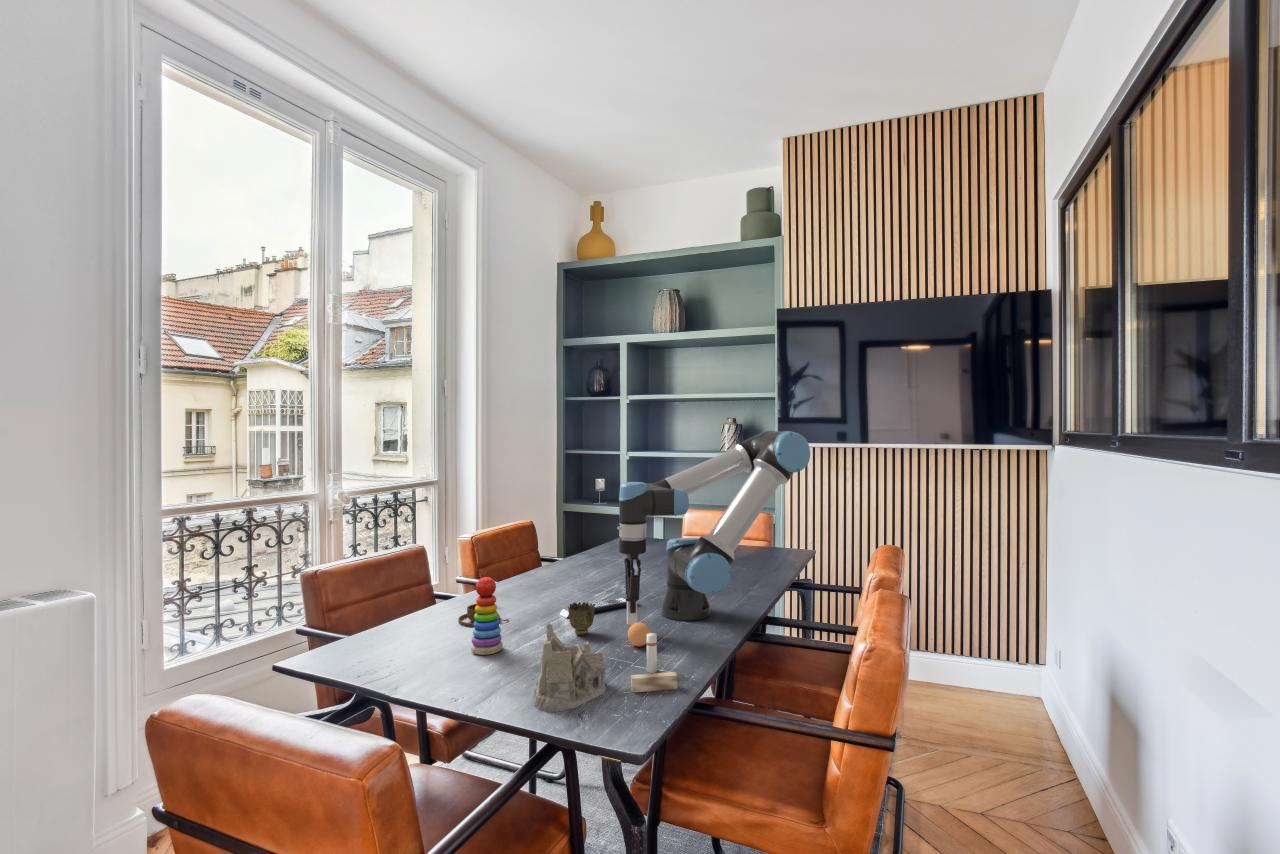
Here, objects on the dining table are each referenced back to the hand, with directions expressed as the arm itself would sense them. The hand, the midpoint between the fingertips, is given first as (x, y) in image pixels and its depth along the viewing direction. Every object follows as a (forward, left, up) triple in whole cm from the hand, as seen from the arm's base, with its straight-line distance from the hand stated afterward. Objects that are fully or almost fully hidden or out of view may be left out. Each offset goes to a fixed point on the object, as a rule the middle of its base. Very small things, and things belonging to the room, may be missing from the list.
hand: (631, 623), depth 174 cm
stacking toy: (+39, +5, -3) cm, 39 cm away
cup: (+14, -3, -3) cm, 14 cm away
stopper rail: (+1, +36, -3) cm, 37 cm away
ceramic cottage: (+20, +36, -3) cm, 41 cm away
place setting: (+40, -24, -4) cm, 47 cm away
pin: (0, +26, -3) cm, 27 cm away
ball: (0, +9, 0) cm, 10 cm away
